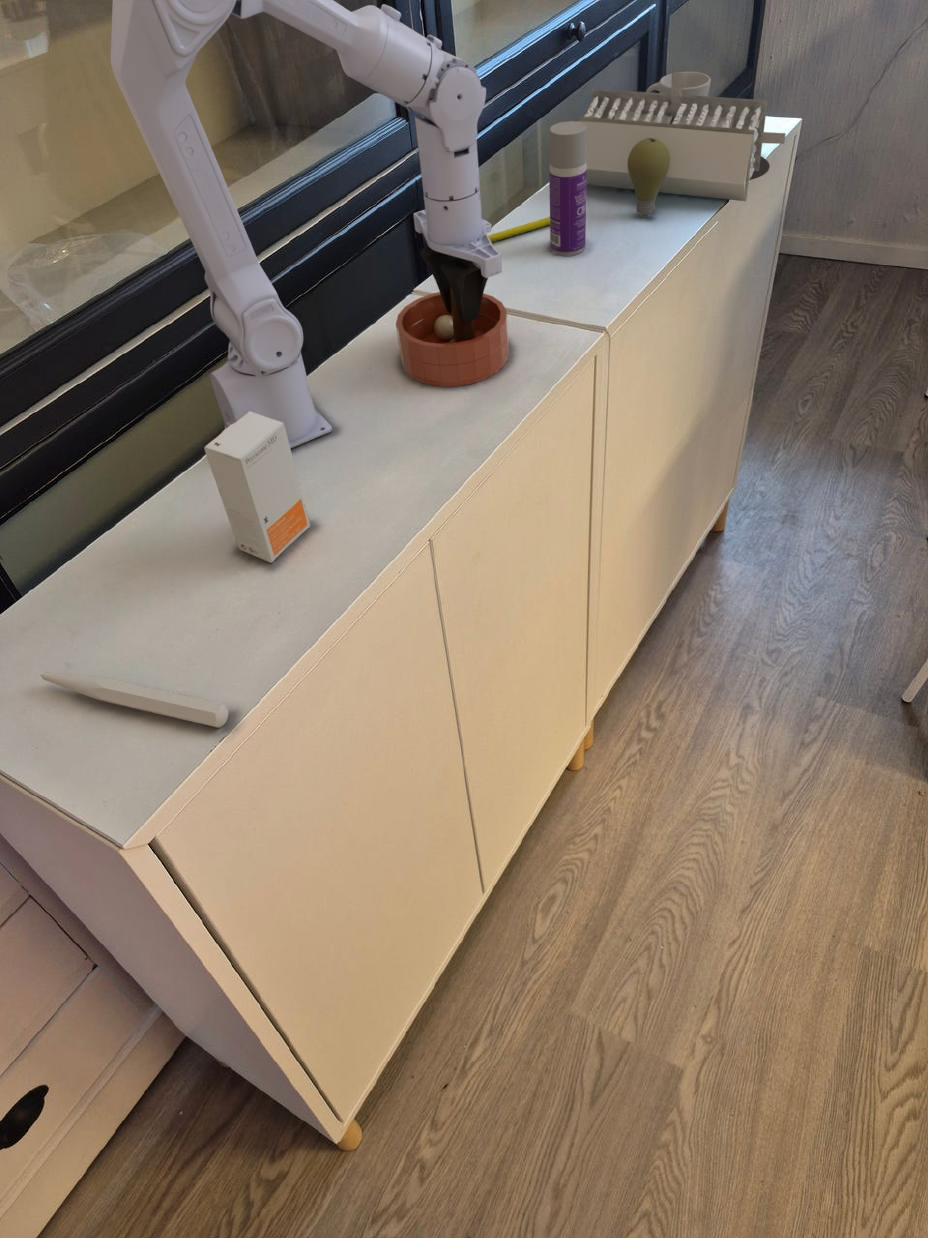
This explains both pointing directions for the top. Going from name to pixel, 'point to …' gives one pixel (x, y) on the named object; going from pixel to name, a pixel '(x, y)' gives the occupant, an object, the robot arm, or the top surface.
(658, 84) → the cup
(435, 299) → the bowl
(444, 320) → the bead
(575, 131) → the container
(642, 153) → the light bulb
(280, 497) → the cosmetic box
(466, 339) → the pestle
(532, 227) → the pencil
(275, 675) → the top surface
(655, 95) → the miniature building
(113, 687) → the tool
